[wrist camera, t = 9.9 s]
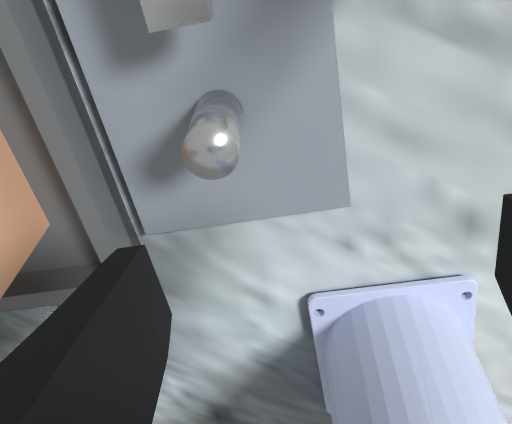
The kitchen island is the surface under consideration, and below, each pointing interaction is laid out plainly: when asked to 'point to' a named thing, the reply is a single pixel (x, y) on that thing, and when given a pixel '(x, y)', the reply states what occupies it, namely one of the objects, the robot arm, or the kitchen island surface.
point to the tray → (55, 161)
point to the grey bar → (202, 98)
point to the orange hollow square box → (16, 217)
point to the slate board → (218, 78)
